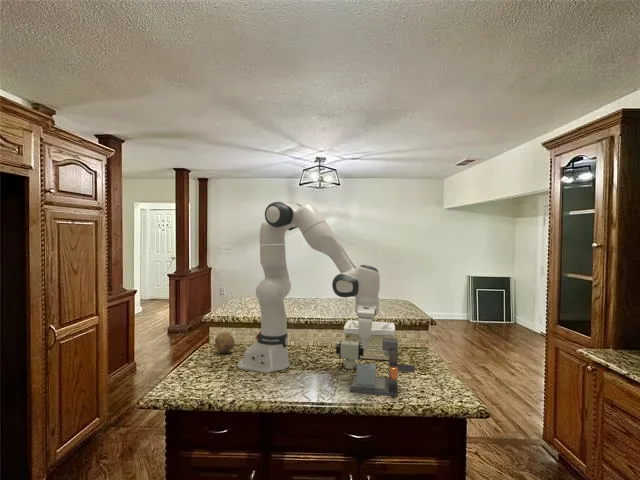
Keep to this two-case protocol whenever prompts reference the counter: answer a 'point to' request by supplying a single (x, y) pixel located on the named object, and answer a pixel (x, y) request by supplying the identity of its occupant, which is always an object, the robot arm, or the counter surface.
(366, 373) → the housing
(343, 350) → the pneumatic valve
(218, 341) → the natural sponge
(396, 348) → the press
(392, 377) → the lever
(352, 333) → the storage basket
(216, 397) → the counter surface
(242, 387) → the counter surface
